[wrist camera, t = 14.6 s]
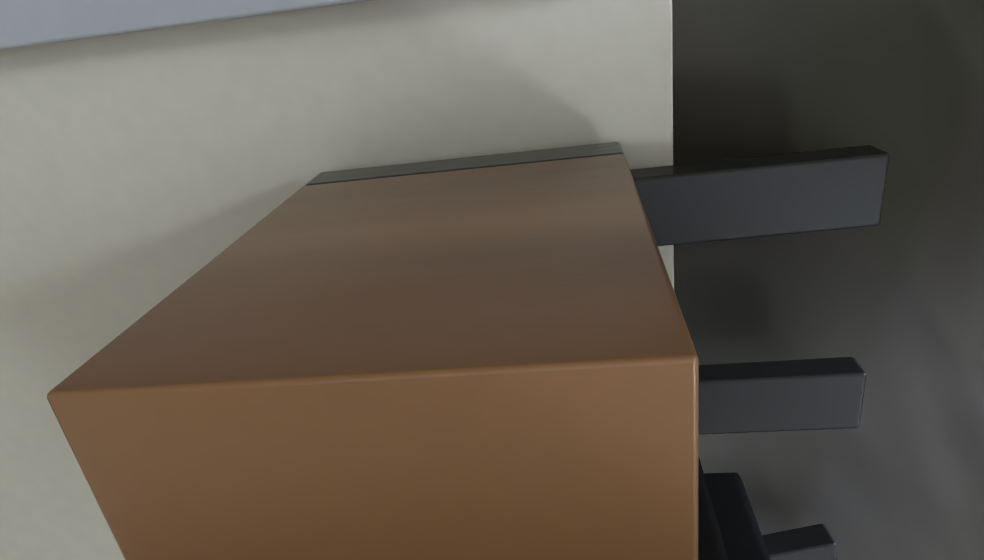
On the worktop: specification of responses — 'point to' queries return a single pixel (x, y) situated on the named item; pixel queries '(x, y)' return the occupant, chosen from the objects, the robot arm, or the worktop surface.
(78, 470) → the memo board
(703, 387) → the mark
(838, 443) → the worktop surface
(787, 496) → the worktop surface
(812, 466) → the worktop surface
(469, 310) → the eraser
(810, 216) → the mark
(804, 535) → the mark
